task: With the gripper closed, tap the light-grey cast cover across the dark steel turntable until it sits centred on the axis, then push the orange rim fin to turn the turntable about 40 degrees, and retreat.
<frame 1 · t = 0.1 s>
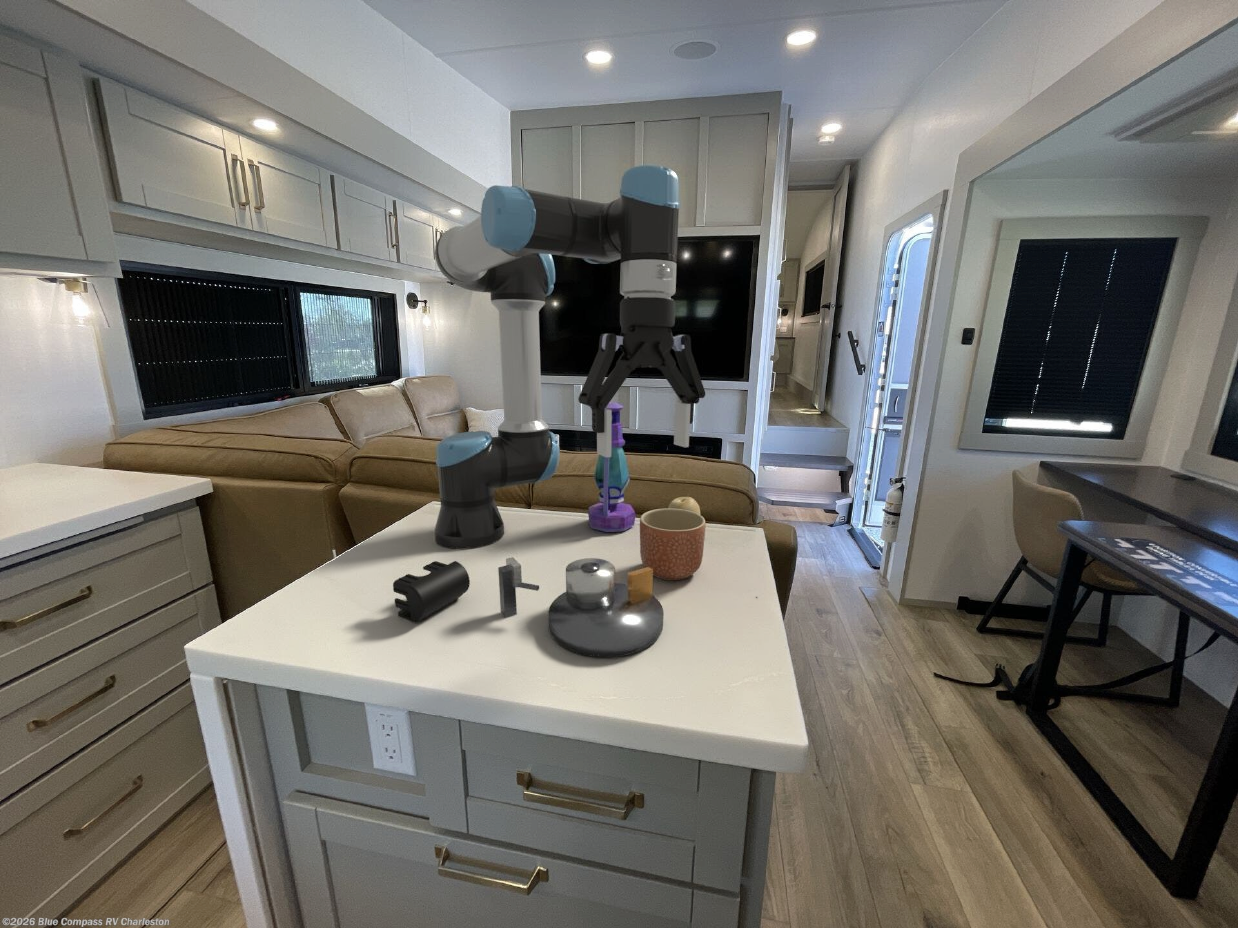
hand: (644, 450, 72), 28 cm above the kitchen island, fingers open, 13 cm apart
lantern: (611, 526, 119), on the kitchen island
cover: (590, 596, 81), point 2 cm above the kitchen island, touching turntable
turntable: (606, 601, 76), point 4 cm above the kitchen island, hinge at 0.0°, touching cover
planter: (670, 572, 95), on the kitchen island
gray post with pin: (508, 613, 80), on the kitchen island
end cap: (434, 609, 82), on the kitchen island
apple: (683, 526, 119), on the kitchen island
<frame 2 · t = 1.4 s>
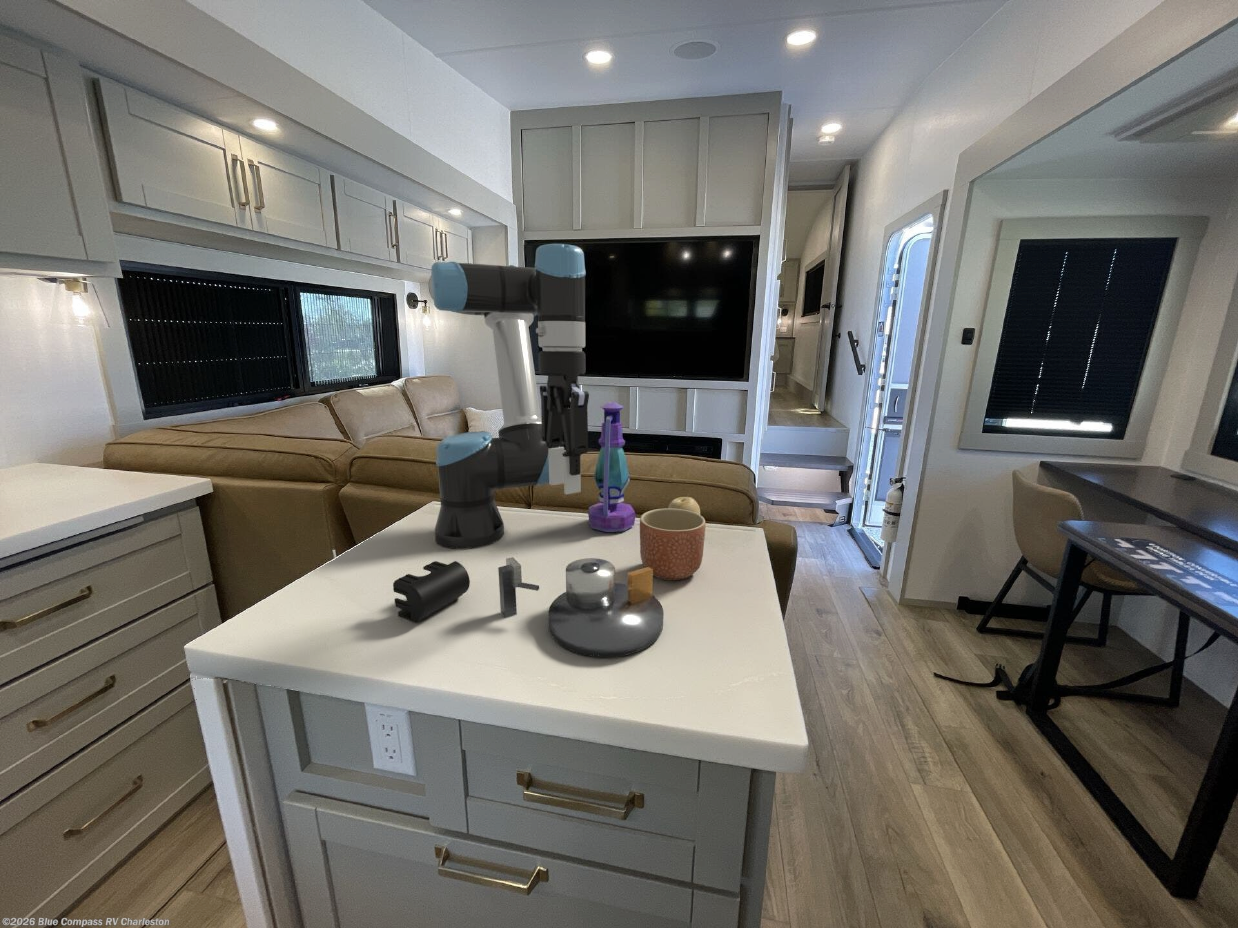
hand: (564, 487, 84), 19 cm above the kitchen island, fingers open, 5 cm apart
nothing on the kitchen island moved.
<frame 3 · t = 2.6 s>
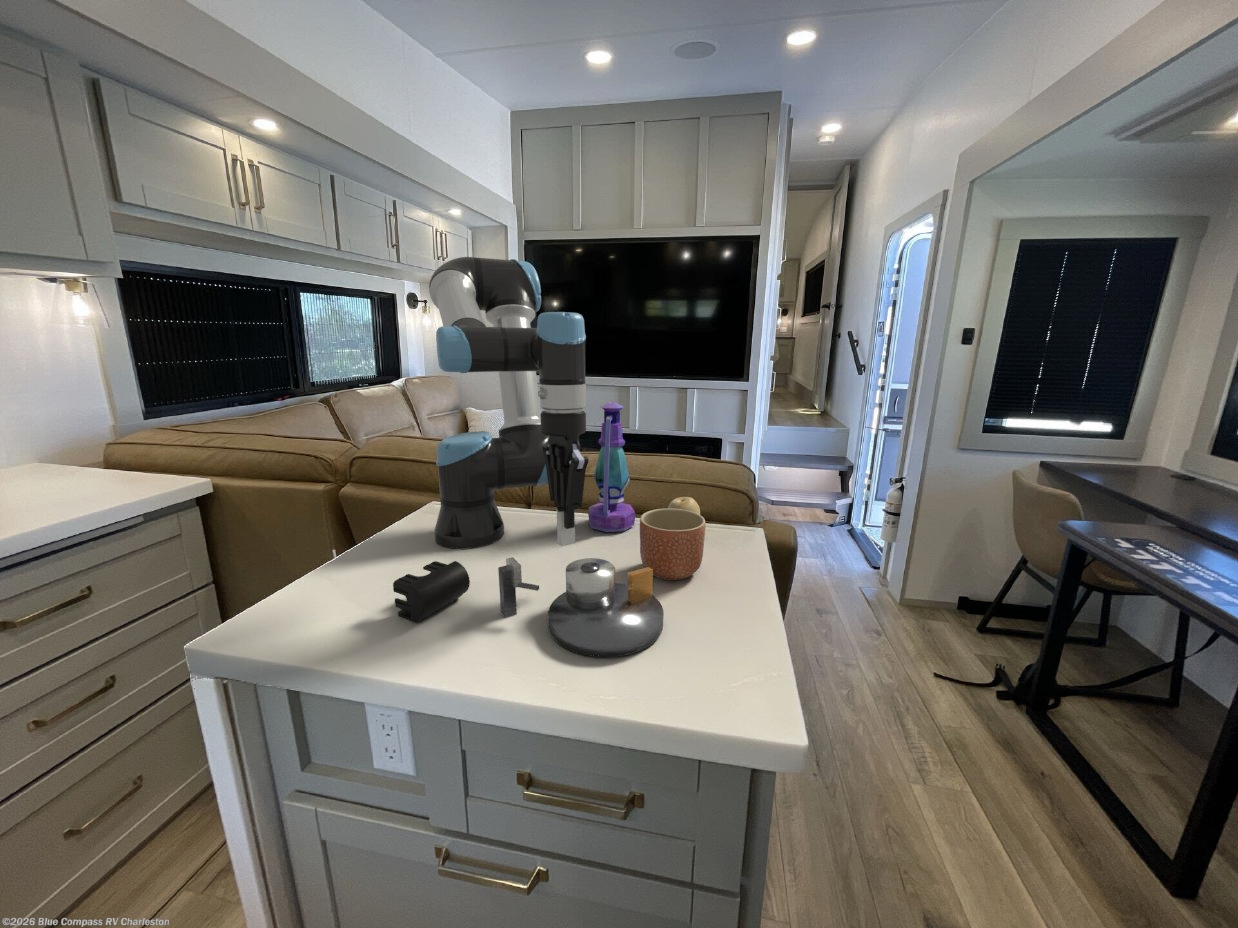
hand: (566, 543, 86), 9 cm above the kitchen island, fingers closed
nothing on the kitchen island moved.
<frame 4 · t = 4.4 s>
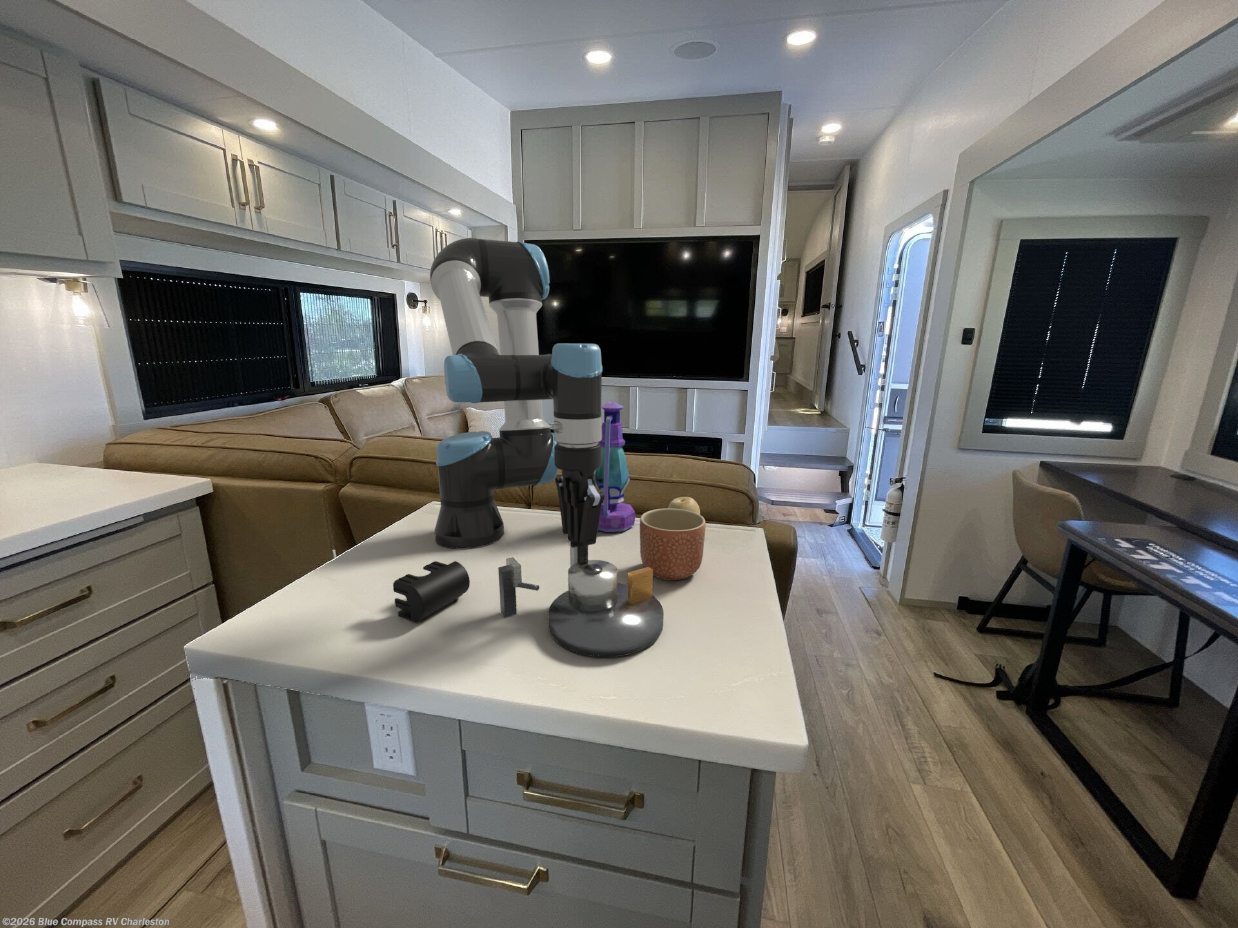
hand: (579, 578, 84), 4 cm above the kitchen island, fingers closed
cover: (593, 598, 80), point 2 cm above the kitchen island, touching gripper, turntable
everything else where it was.
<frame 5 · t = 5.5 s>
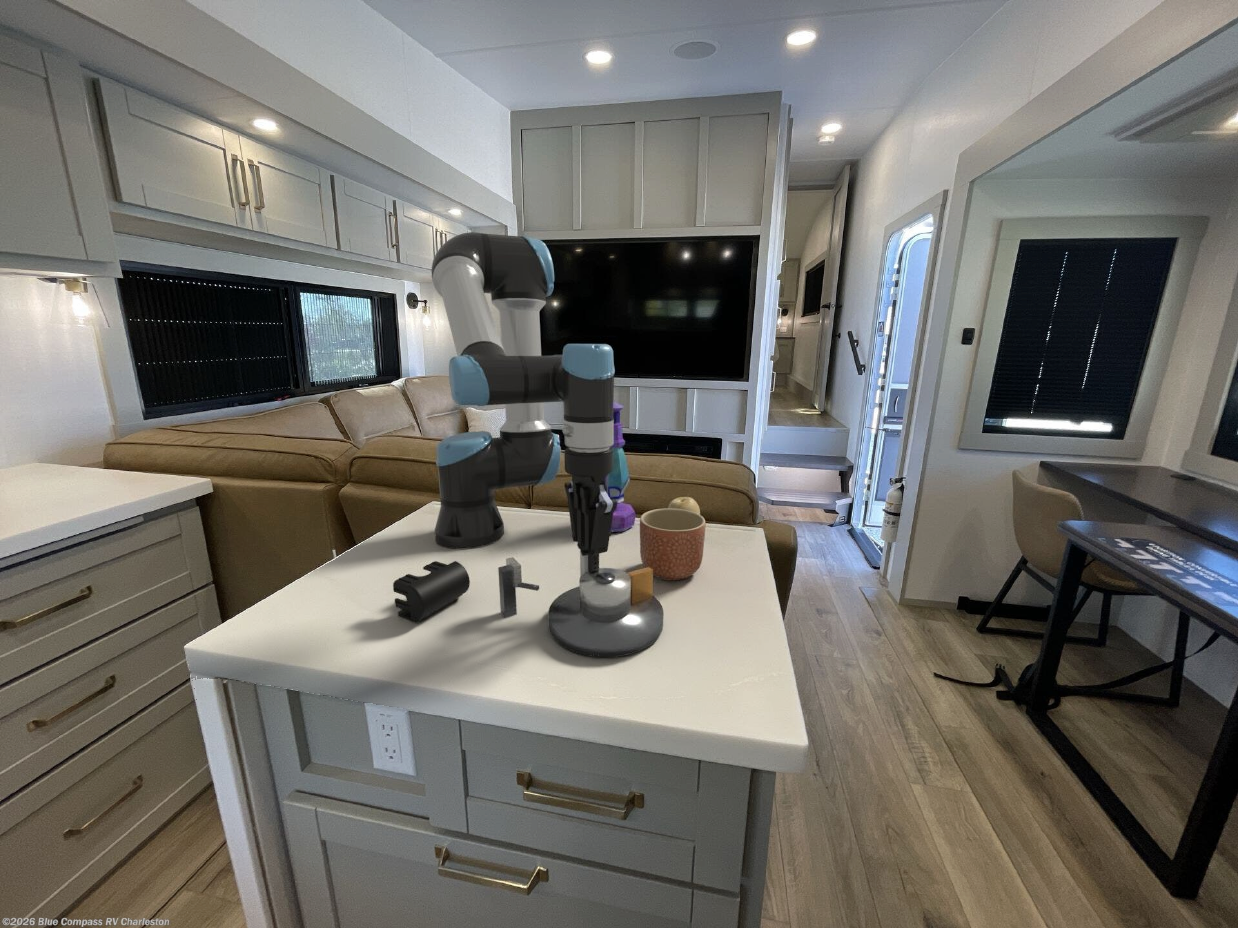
hand: (589, 587, 81), 4 cm above the kitchen island, fingers closed
cover: (605, 608, 77), point 2 cm above the kitchen island, touching gripper, turntable
turntable: (606, 601, 76), point 4 cm above the kitchen island, hinge at -0.3°, touching cover
everything else where it was.
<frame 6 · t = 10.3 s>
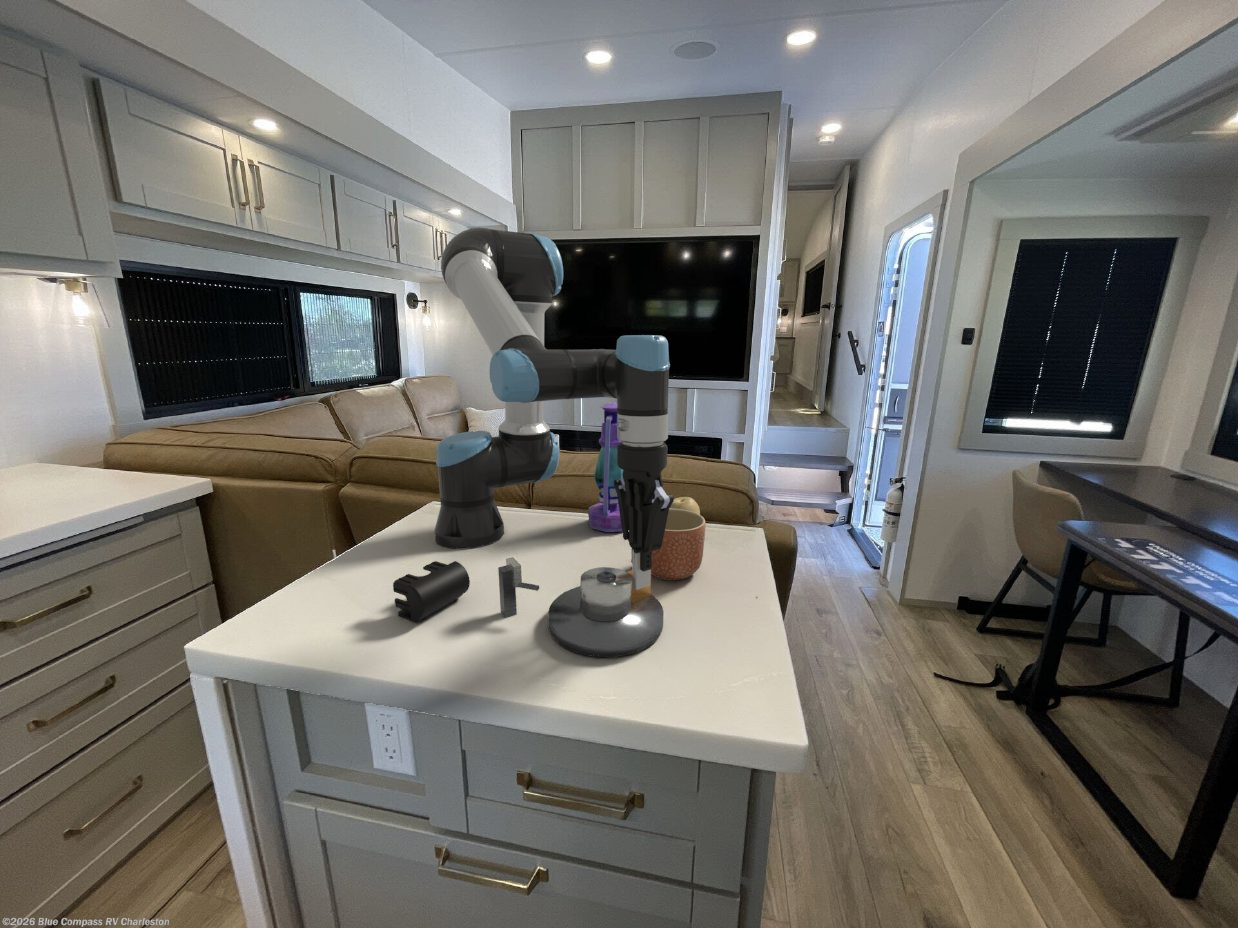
hand: (641, 586, 79), 5 cm above the kitchen island, fingers closed
cover: (605, 607, 77), point 3 cm above the kitchen island, touching turntable
turntable: (606, 601, 76), point 4 cm above the kitchen island, hinge at 3.4°, touching cover, gripper
everything else where it was.
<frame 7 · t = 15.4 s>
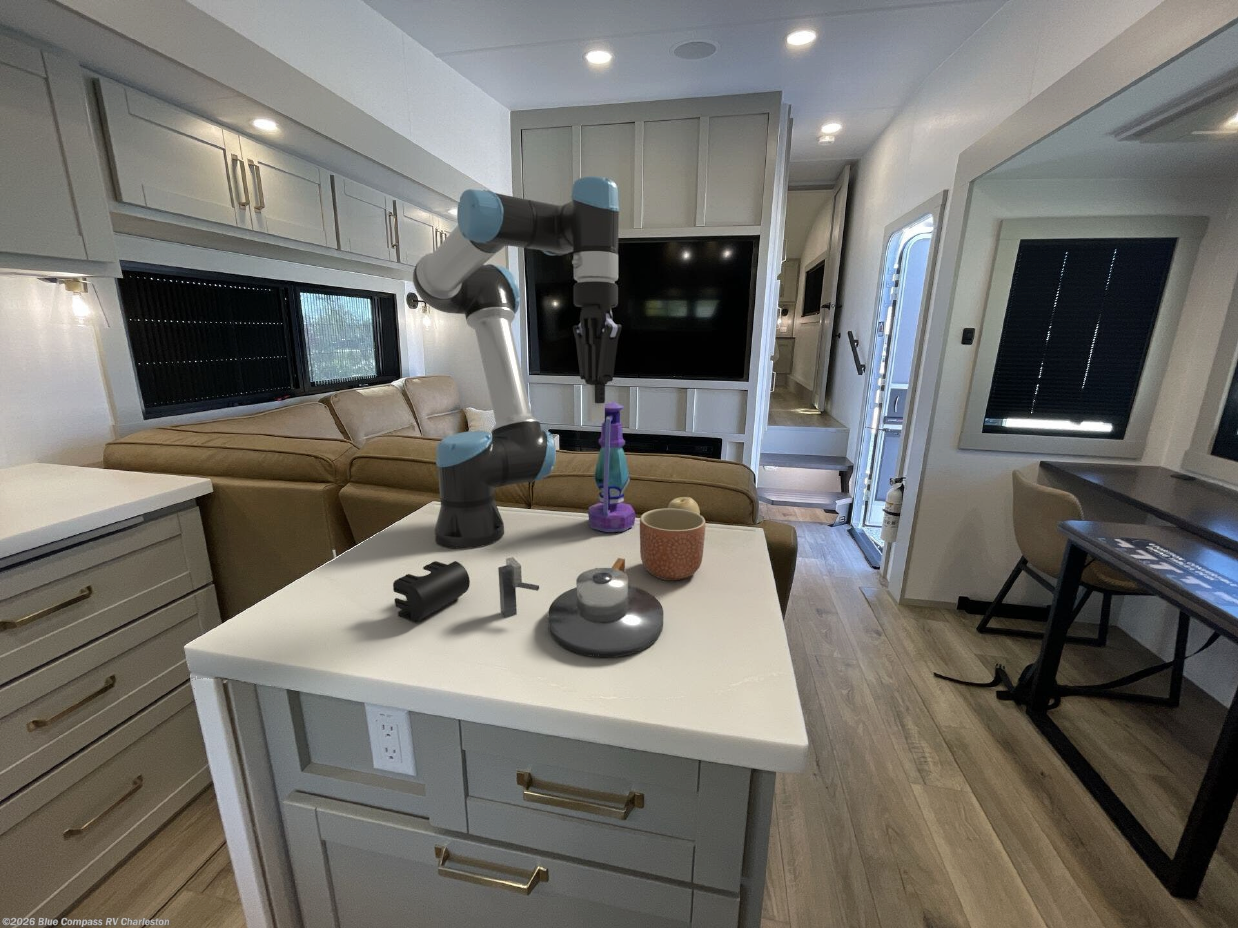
hand: (596, 420, 88), 29 cm above the kitchen island, fingers closed
turntable: (606, 601, 76), point 4 cm above the kitchen island, hinge at 41.2°, touching cover
everything else where it was.
at the end: cover 0.6 cm from the turntable (horizontally); turntable at +41° (first picture: +0°); cover tilted 2° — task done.
